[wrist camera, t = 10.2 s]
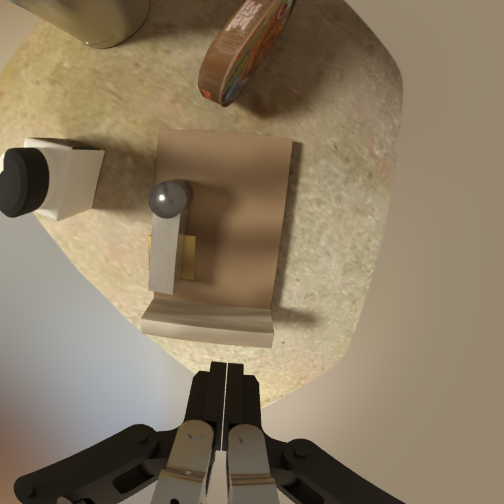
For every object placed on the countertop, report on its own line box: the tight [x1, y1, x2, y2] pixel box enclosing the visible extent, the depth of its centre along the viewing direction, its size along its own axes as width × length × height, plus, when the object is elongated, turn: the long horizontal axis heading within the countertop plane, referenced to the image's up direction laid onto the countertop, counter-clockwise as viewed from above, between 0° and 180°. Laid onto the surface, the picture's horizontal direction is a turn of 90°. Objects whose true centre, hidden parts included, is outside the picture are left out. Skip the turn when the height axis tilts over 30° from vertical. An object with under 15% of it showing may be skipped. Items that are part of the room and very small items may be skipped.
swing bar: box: [149, 179, 193, 295], centre depth 26 cm, size 11×3×4 cm, turn 170°
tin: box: [198, 0, 296, 107], centre depth 19 cm, size 15×3×8 cm, turn 152°
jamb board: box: [141, 130, 293, 348], centre depth 26 cm, size 20×13×6 cm, turn 174°
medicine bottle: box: [0, 138, 105, 221], centre depth 21 cm, size 7×7×12 cm
